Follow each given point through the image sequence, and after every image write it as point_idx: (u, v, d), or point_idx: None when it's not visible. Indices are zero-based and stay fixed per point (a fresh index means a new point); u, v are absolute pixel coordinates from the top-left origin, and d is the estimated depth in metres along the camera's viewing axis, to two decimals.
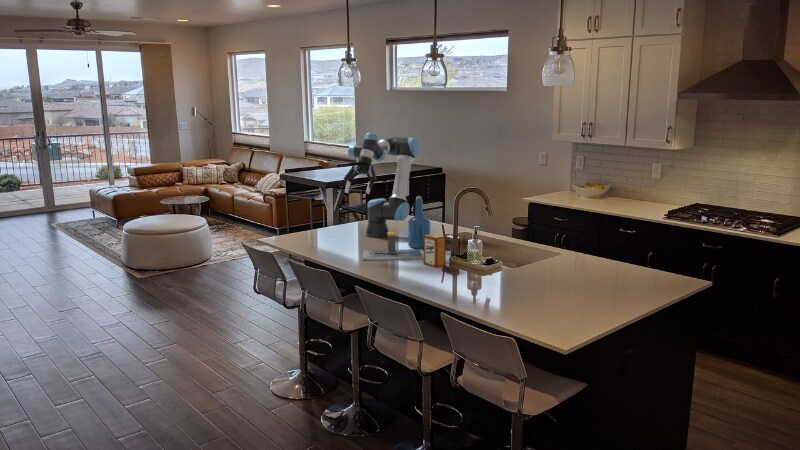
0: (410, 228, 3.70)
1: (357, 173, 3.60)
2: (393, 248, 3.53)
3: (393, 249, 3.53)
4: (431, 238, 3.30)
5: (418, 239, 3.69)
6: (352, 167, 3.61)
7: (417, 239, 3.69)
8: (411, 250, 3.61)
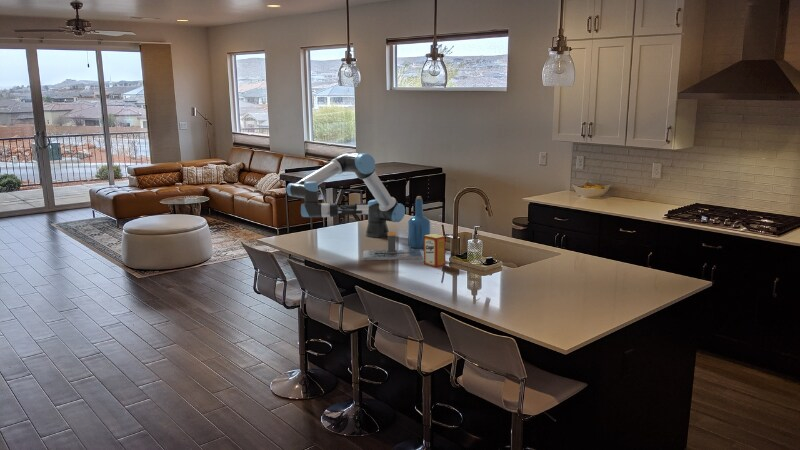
0: (410, 228, 3.70)
1: (346, 208, 3.52)
2: (393, 248, 3.53)
3: (393, 249, 3.53)
4: (431, 238, 3.30)
5: (418, 239, 3.69)
6: None
7: (417, 239, 3.69)
8: (411, 250, 3.61)
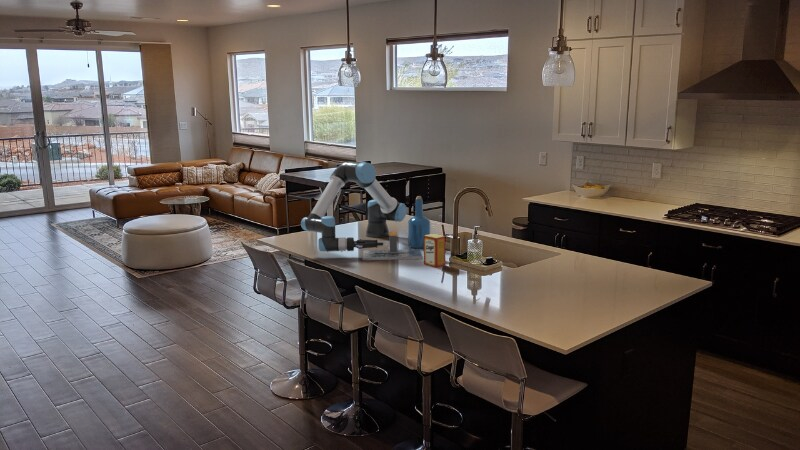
0: (410, 228, 3.70)
1: None
2: (395, 248, 3.53)
3: (395, 249, 3.53)
4: (431, 238, 3.30)
5: (418, 239, 3.69)
6: None
7: (417, 239, 3.69)
8: (411, 250, 3.61)
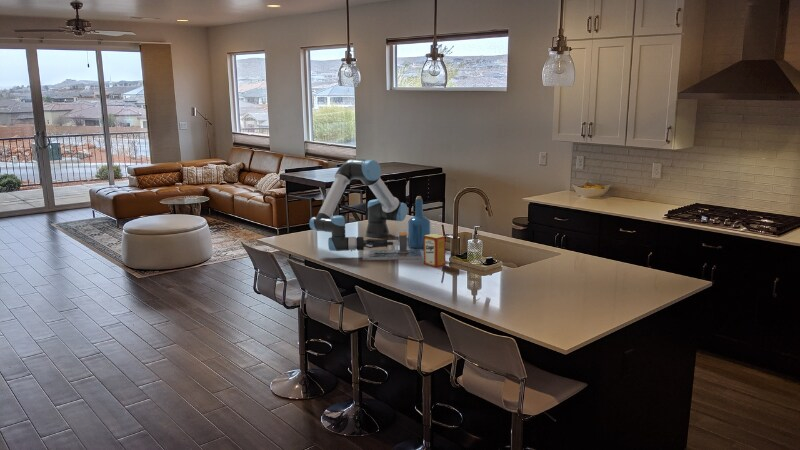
0: (410, 228, 3.70)
1: None
2: (404, 248, 3.53)
3: (404, 249, 3.53)
4: (431, 238, 3.30)
5: (418, 239, 3.69)
6: None
7: (417, 239, 3.69)
8: (411, 250, 3.61)
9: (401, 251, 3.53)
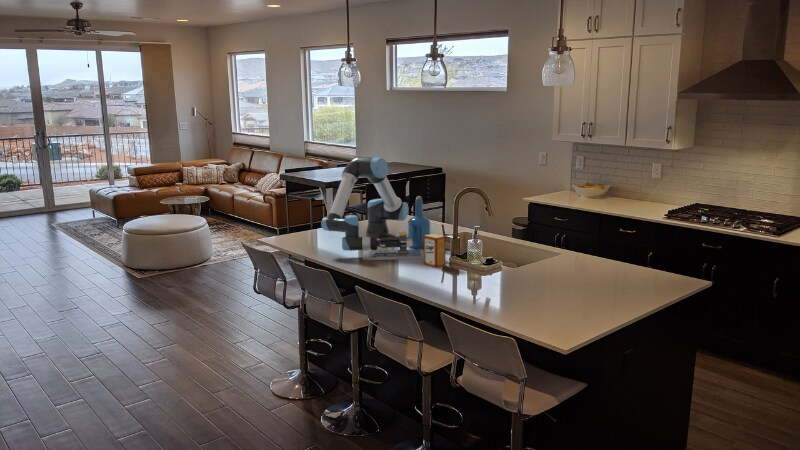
0: (410, 228, 3.70)
1: None
2: (404, 248, 3.53)
3: (404, 249, 3.53)
4: (431, 238, 3.30)
5: (418, 239, 3.69)
6: None
7: (417, 239, 3.69)
8: (411, 250, 3.61)
9: (401, 251, 3.53)
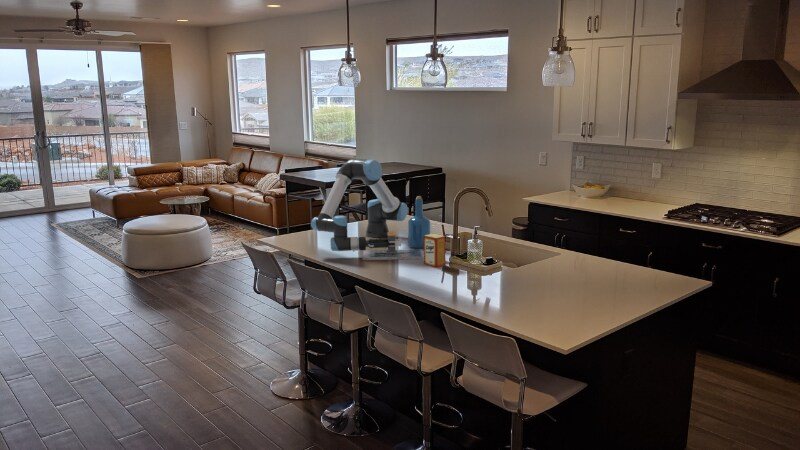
0: (410, 228, 3.70)
1: None
2: (393, 248, 3.53)
3: (393, 249, 3.53)
4: (431, 238, 3.30)
5: (418, 239, 3.69)
6: None
7: (417, 239, 3.69)
8: (411, 250, 3.61)
9: (390, 251, 3.53)
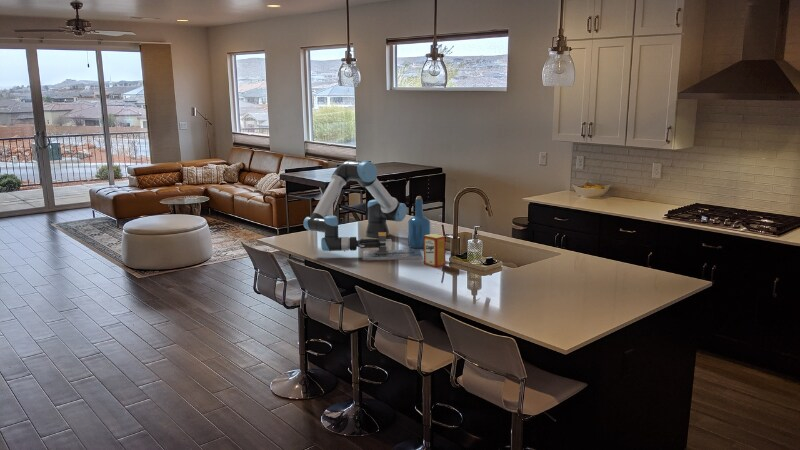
0: (410, 228, 3.70)
1: None
2: (384, 248, 3.52)
3: (384, 249, 3.53)
4: (431, 238, 3.30)
5: (418, 239, 3.69)
6: None
7: (417, 239, 3.69)
8: (411, 250, 3.61)
9: (380, 251, 3.53)
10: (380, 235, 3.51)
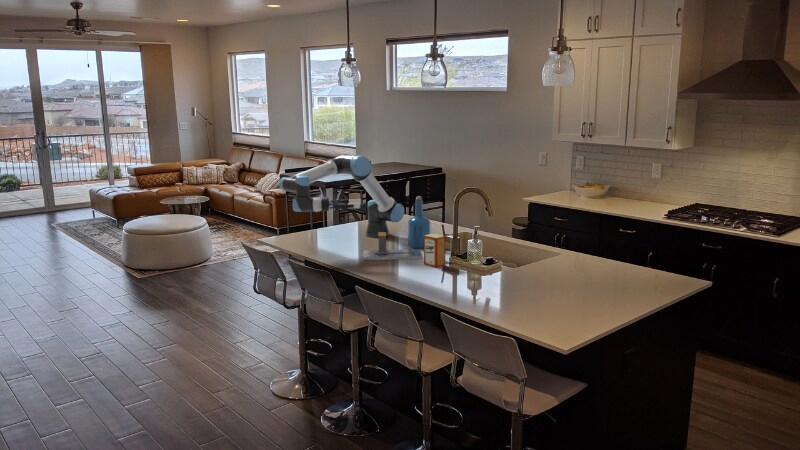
0: (410, 228, 3.70)
1: (338, 202, 3.51)
2: (384, 248, 3.52)
3: (384, 249, 3.53)
4: (431, 238, 3.30)
5: (418, 239, 3.69)
6: None
7: (417, 239, 3.69)
8: (411, 250, 3.61)
9: (380, 251, 3.53)
10: (380, 235, 3.51)
